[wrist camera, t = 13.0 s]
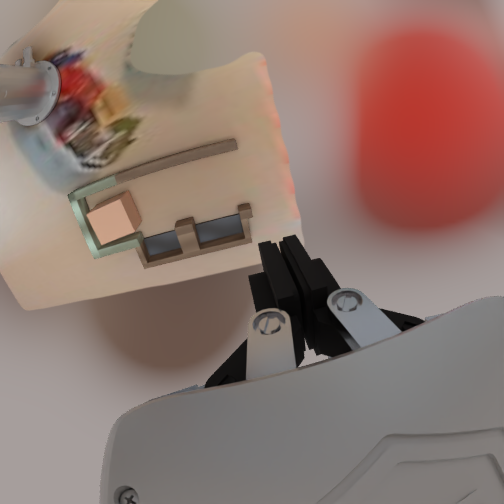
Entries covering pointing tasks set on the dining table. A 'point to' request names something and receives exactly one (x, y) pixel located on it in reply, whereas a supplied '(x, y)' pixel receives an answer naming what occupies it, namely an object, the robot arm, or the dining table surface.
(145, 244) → the box
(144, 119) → the dining table surface
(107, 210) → the block
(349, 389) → the robot arm
